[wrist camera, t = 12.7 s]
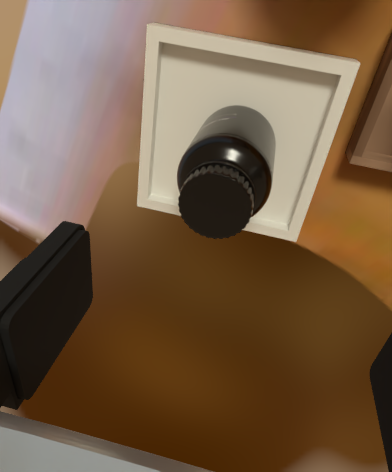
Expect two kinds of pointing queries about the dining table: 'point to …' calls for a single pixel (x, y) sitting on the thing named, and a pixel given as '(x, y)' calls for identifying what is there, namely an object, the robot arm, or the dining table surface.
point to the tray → (244, 94)
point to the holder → (375, 121)
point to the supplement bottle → (226, 172)
